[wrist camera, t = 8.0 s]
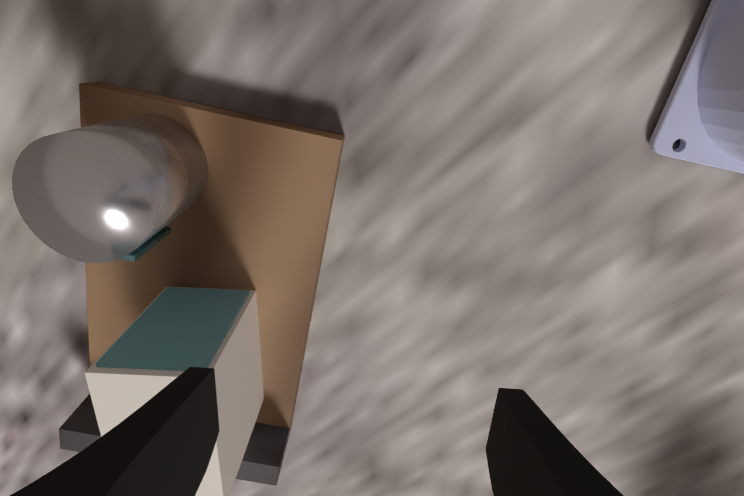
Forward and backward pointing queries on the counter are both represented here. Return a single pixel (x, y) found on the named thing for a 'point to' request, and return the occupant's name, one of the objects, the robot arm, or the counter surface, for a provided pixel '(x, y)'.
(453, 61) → the counter surface
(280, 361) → the tan wooden panel
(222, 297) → the carton
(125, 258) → the tin
